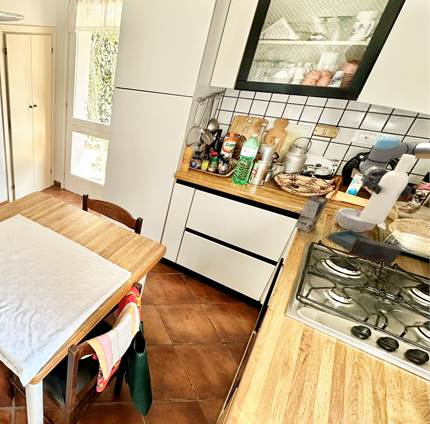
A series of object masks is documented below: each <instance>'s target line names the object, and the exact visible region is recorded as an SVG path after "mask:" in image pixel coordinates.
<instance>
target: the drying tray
mask: <svg viewBox="0 0 430 424" xmlns="http://www.w3.org/2000/svg"><path fill="white" fill-rule="evenodd" d="M357 237H359V238H364V239H368V240H372V241H375V240H374V239H372V238H369V237H368V236H366V235H363V234H361V233H360V232H355V231H352V230H350V229H349V230H347V229H344V230H339V231H334V232H330V233H329V235H328V237H327V240H330V241H331V242H333V243H336V244H338V245H340V246H341V247H343V248H345V249H347V250H348V251H349V250H350V248H351V247H352V245H353V243H354V242H355V240H356V238H357Z"/></svg>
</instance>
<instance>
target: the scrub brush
mask: <svg viewBox="0 0 430 424" xmlns="http://www.w3.org/2000/svg"><path fill="white" fill-rule="evenodd" d="M372 240H373V239H372ZM372 240H368V239H364V238H359V237H357V238H356V240H355V242H354V243H353V245H352V247H351V248H350V250H349V249H348V252H347V256H348V255H350V254H353V255H354V256H355V255H356V256H360V257H363V258H364V259H365V258H367V259H368V260H369V261H371V262H375V263H377V262H378V261H379V260H380V259H383V262H384V266H383V267H385V266H388V267H387V268H389V267H391V268H392V267H393V265H392V264H393V263H394V262H395V261H396V259H397V258H398V257H399V255H400V254H401V252H402V247H401V246H397V245H393V244H390V243H385V242H381V241H377V240H374V241H372ZM367 259H366V260H367Z"/></svg>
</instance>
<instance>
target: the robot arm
mask: <svg viewBox="0 0 430 424" xmlns="http://www.w3.org/2000/svg"><path fill="white" fill-rule="evenodd" d="M404 154H408V155H413V156H415V157H416V158H415V160H430V141H423V142H422V141H401V140H400V139H399V138H395V137H390V136H381V137H379V138H378V139H377V141H376V142H375V143H374V145H373V147H372V149H371V151H370V153H369V155H368V156H367V158H366V159H365V161H363V162H362V163H361V164H360V166H359V170H360V173H361V175H362V176H361V177H360V181H361V183H362V187H364V188H366V187H367V190H370V191H371V190H372V191H373V192H375V193H376V194H379V193H380V191H381V189H382V188H381V187H380V186H379V185H378V184H379V182H380V180H381V179H382V177H383V176H384V175H385V174H386V173H388V172H389V171H388V170H387V169H386V167H387V166H388V164H389V163H390V160H391V159H400V158H401V157H402V156H403V155H404ZM412 190H413V188H412V187H411V186H409V185H408V184H407V185H406V187H405V188H404V190H403V191H402V193H401V195H400V196H399V197H401V198H402V199H403V200H407V199H408V197H409V195H410V194H411V192H412Z"/></svg>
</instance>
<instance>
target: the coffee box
mask: <svg viewBox="0 0 430 424" xmlns="http://www.w3.org/2000/svg"><path fill="white" fill-rule="evenodd" d="M328 202H329V199H328V198H325V197H321V196H317V195H312V196H311V197H310V198H307V201H306V202H305V205H304V206H303V209H302V211H301V213H300V215H299V217H298V219H297V221H296V223H295V225H294V227H295V228H297V229H299V230H302V231H305V232H307V233H310V231H312V230H313V229H314V228H316V226H317V224H318V222H319V220H320V218H321V216H322V214H323V212H324V209H325V207H326V206H327V204H328Z"/></svg>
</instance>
